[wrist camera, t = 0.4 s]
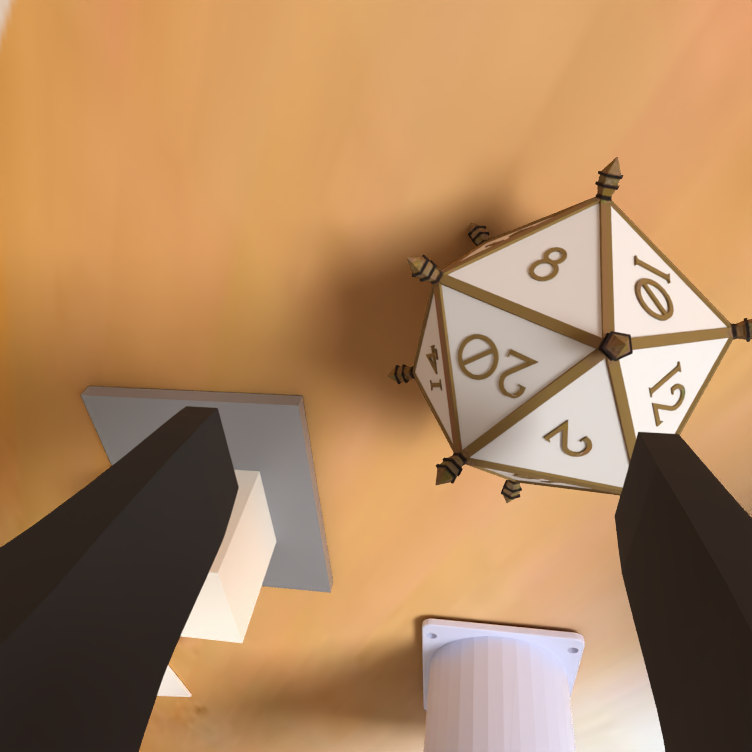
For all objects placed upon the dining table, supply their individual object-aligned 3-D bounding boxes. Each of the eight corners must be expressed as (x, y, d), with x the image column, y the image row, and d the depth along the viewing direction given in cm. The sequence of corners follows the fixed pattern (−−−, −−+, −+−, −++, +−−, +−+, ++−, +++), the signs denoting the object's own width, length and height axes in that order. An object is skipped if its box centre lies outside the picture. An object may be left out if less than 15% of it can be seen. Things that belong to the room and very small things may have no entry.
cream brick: (276, 541, 28) (242, 643, 24) (183, 533, 29) (135, 631, 25) (259, 471, 25) (217, 572, 21) (157, 464, 26) (98, 561, 22)
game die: (492, 268, 23) (303, 440, 19) (567, 50, 16) (288, 251, 12) (704, 413, 20) (540, 653, 16) (914, 230, 13) (717, 579, 9)
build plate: (333, 582, 30) (330, 592, 30) (165, 566, 32) (161, 576, 31) (302, 395, 23) (298, 405, 23) (88, 386, 25) (80, 395, 24)
